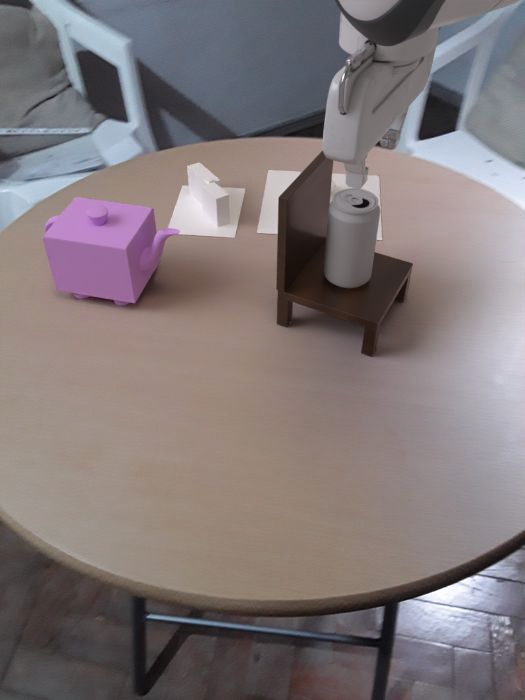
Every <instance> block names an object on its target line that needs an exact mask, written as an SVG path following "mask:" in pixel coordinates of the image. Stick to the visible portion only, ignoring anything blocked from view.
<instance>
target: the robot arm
mask: <svg viewBox="0 0 525 700" xmlns="http://www.w3.org/2000/svg"><path fill="white" fill-rule="evenodd" d="M334 1H335V4H336V6H337V7H338V9H339V12H340V17H339V31H338V32H339V33H338V45H339V47H340V48H341V50H343V51H344V52H345V53H347V54H349V56H348V57H347V59H346V61H345V63H344V66H343V67H342V68H340V69H339V70H338V71H337V72H336V73H335V75H334V76H333V77H332V80H331V82H330V85H329V89H328V93H327V100H326V106H325V113H324V114H325V115H324V124H323V133H322V144H321V145H322V147H321V148H322V150H323V152H324V154H325V156H326V158H328V159H331V160H333V162H337V163H338V162H339V163H342V164H343V167H344V169H345V172H346V173H345V174H346V185H347V186H348V187H352V188H356V189H360V188H362V186H363V185H364V184H365V183H366V181H367V178H368V177H367V175H369V167H368V166H366V159H367V158H368V154H370V152H371V151H372V149H373V148H375V146H376V145H377V144H378V143H379V145H380V147H382V148H388V149H391V150H392V149H395V148H396V146H397V145H398V144H400V141H401V134H402V128H403V126H404V123H405V120H406V117H407V115H408V111H409V107H410V106H411V105H412V104H413V102H414V101H415V100H416V99H417V98H418V97H419V96H420V95H421V93H422V92H423V91H424V90H425V88H426V86H427V83H428V81H429V78H430V75H431V71H432V67H433V63H434V59H435V53H436V49H437V45H438V40H439V35H440V30H441V29H442V27H446V26H448V25H449V26H450V25H451V24H456V23H458V22H462V21H465V20H469V19H471V18H474V17H478V16H480V15H484V14H488V13H490V12H494V11H497V10H501V9H503V8H505V7H509V6H511V5H513V4H516V3H519V2H520V1H521V0H334Z"/></svg>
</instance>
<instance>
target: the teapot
mask: <svg viewBox="0 0 525 700" xmlns="http://www.w3.org/2000/svg"><path fill="white" fill-rule="evenodd" d="M156 224H157V223H156V216H155V209H154V208H153V207H148V206H144V205H143V206H142V205H136V204H130V203H123V202H115V201H109V200H102V199H95V198H88V197H80V196H74V198H73V199H72V201H71V202H70V203H69V204H68V205H67V206H66V207H65V209H64V210H63V211H62V212H61V213H60V214H56V215H53V216H51V217H49V219H48V220H46V222H45V225H44V232H45V233H44V234H43V235H42V237H41V238H42V243H43V245H44V249H45V252H46V253H45V254H46V256H47V260H48V264H49V269H50V272H51V276H52V279H53V282H54V287H55V290H56V291H59V292H65V293H71V294H73V295H74V297H75V298H77V299H80V300H83V299H87V298H89V297H95V298H101V299H107V300H112V301H113V303H114V304H115V305H117V306H127V305H129V304H130V303H131V304H136V303H137V301H138V300H139V298H140V296H141V294H142V292H143V290H144V289H145V287H146V286H147V285H148V283H149V280H150V279H151V277H152V276H153V274H154V272H155V270H156V268H157V267H158V266H159V264H160V262H161V258H162V256H163V253H164V248H165V244H166V241H167V240H168V238H170V237H173V236H176V235H179V234H178V233H179V232H180V231H179V230H178V229H174V228H168V227H167V228H166V227H164V228H162V229H160V230H158V231H157V225H156Z"/></svg>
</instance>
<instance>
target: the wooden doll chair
mask: <svg viewBox="0 0 525 700" xmlns="http://www.w3.org/2000/svg"><path fill="white" fill-rule="evenodd" d="M333 169H334V160H331V159H328V158H326V156H325V154H324V152H323V149H322V150H321V151H320V152H319V153H318V155H317V156H316V157H314V159H313V160H311V162H310V163H309V164H308V165H307V166H306V168H304V169H303V171H301V172H302V173H301V174H300V175H299V176H298V177H297V178H296V179H295V180H294V181H293V182H292V183H291V185H290V186H289V187H288V188H287V189H286V190H285V191H284V192H283V193H282V194H281V195H280V196H279V197H278V234H277V239H276V240H277V241H276V242H277V245H276V283H275V284H276V287H275V288H276V290H277V299H276V300H277V301H276V307H277V308H276V325H279V326H281V327H284V328H289V326H290V325H291V323H292V321H293V308H294V307H293V306H294V304H297V305H300V306H303V307H305V308H309V309H312V310H315V311H318V312H321V313H324V314H327V315H330V316H333V317H336V318H339V319H342V320H345V321H348V322H351V323H354V324H357V325H360V326H362V327H364V329H363V336H362V344H361V348H360V349H361V350H360V354H362V355H364V356H368V357H370V358H373V357H374V355H375V353H376V351H377V349H378V342H379V336H380V331H381V325H382V324H381V323H382V322H383V320H384V318H385V316H387V313H388V311H389V310H390V308H391V306H392V305H393V303H394V301H397V302H399V303H405V300H406V299H407V297H408V292H409V287H410V282H411V278H412V274H413V273H412V272H413V267H414V263H413V262H410V261H406V260H403V259H401V258H400V259H399V258H396V257H392V256H390V255H386V254H383V253H379V252H376V251H375V253H374V260H373V267H372V274H371V278H370V279H369V281H368V282H367V283H365V284H363V285H361V286H359V287H356V288H342V287H339V286H337V285H335V284H333V283H331V282H330V281H329V280H327V278H326V277H325V275H324V260H325V248H326V235H327V223H328V210H329V205H330V194H331V182H332V173H333Z"/></svg>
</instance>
